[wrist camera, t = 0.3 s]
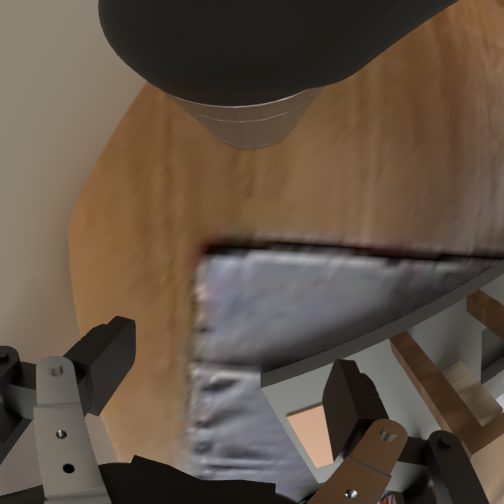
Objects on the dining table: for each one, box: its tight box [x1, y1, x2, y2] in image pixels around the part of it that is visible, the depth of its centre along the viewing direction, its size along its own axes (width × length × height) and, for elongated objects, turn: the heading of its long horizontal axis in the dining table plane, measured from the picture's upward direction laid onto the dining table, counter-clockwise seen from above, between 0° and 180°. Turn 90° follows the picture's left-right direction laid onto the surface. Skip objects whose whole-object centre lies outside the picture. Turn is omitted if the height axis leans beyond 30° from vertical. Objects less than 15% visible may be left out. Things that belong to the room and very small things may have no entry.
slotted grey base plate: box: [261, 259, 504, 483], centre depth 31 cm, size 36×22×3 cm, turn 114°
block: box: [441, 361, 503, 427], centre depth 25 cm, size 5×5×10 cm
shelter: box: [389, 290, 504, 504], centre depth 21 cm, size 12×24×17 cm, turn 24°
